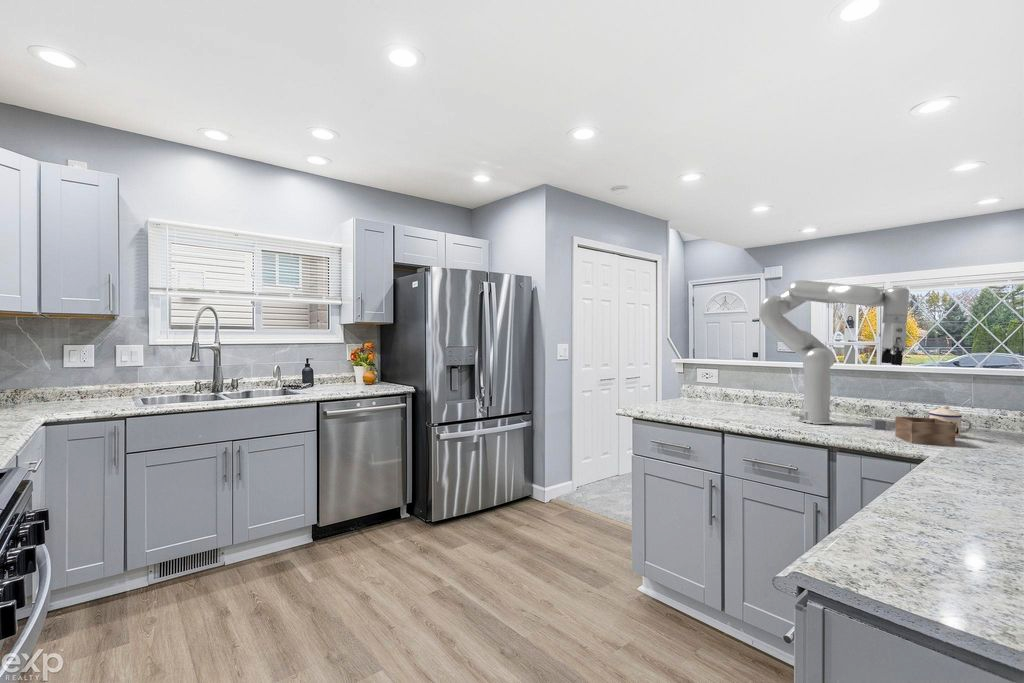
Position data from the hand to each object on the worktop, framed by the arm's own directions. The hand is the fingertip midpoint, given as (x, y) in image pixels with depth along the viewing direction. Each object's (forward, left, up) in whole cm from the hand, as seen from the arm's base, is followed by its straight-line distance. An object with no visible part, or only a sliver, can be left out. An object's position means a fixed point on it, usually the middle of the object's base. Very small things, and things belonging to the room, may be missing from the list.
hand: (891, 363), depth 187 cm
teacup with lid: (+16, -7, -27) cm, 32 cm away
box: (+2, -21, -26) cm, 34 cm away
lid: (-4, -1, -27) cm, 27 cm away
